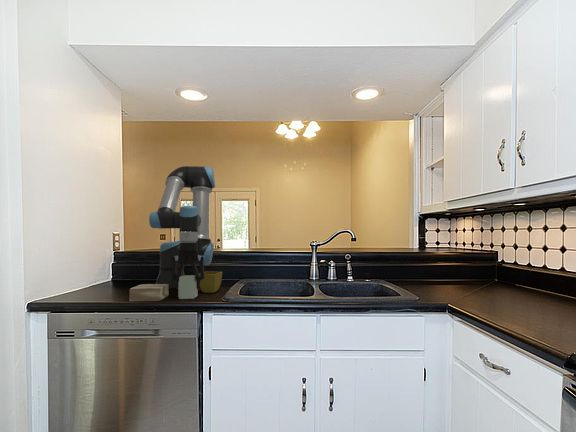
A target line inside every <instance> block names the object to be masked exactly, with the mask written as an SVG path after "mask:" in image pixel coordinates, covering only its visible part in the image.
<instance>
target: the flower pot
mask: <svg viewBox="0 0 576 432" xmlns="http://www.w3.org/2000/svg"><path fill="white" fill-rule="evenodd" d="M198 273H199V276H200V272H198ZM204 276H205V278H204V279H203V280H200V288H199V289H200V290H201V291H202V293H205V294H207V293H208V294H213V293H216V292H218V290H219V288H220V287H221V284H222V278H223V271H204ZM200 277H201V276H200Z"/></svg>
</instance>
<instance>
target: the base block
mask: <svg viewBox="0 0 576 432" xmlns="http://www.w3.org/2000/svg"><path fill="white" fill-rule="evenodd" d="M169 289H170V288H169V284H156V283H144V284H143V283H142V284H138V285H136V286H133V287H131V288H129V298H128V299H129V302H159V301H162V300H163V299H165V298H167V297H168V296H169V292H170V290H169Z"/></svg>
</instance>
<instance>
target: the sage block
mask: <svg viewBox="0 0 576 432" xmlns="http://www.w3.org/2000/svg"><path fill="white" fill-rule="evenodd" d="M195 281H196V277H195V274H194V275H192V274H191V275H190V274H189V275H187V274H186V275H183V276H181V277H179V297H178V299H179V300H189V299H190V300H191V299H195V298H196V297H194V294H195Z"/></svg>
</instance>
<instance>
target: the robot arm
mask: <svg viewBox="0 0 576 432" xmlns="http://www.w3.org/2000/svg"><path fill="white" fill-rule="evenodd" d="M164 184H165V187H164V191H163V193H162V194H163V195H162V196H161V200H160V203H159V205H158V209H157V211H152V212H150V213H149V218H148V221H149V227H150V228H152V229H159V230H162V229H179V234H178V235H179V240H176V241H169V242H168V241H167V242H162V243H161V244H160V247H159V273H158V276H157V278H156V282H155V284H169V289H176V290H177V291H178V293H177V294H178V295H177V297H178V298H179V277H181V276H183V275H185V272H184V269H185V266H191V267H192V268H191V269H192V271H193V274H194V275H195V277H196V281H195V294H194V297H195V298H197V297H198V291H199V289H201V288H200V280H203V279H204V278H205V276H204V272H205V266H209V265H210V264H211V263H212V259H213V255H214V247H215V245H214V243H213V242H212V239H211V238H210V237H209V221H210V220H209V213H210V212H209V211H210V194H211V193H212V192H213V189H215V188H216V182H215V175H214V170H213V168H212V167H211V166H199V165H198V166H195V165H192V166H191V165H189V166H187V165H185V166H179V167H177V168H175V169H174V170H172V171H171V172H170V173H169V174H168V176H167V177H166V180H165V182H164ZM185 188H188V189H190V192H192V205H183V206H182V205H181V206H180V207H179V211H176V208H177V206H178V202H179V198H180V195H181V191H182V190H183V189H185ZM197 266H199V270H198V267H197ZM199 271H200V272H199ZM199 273H200V276H201V277H200V276H199Z"/></svg>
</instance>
